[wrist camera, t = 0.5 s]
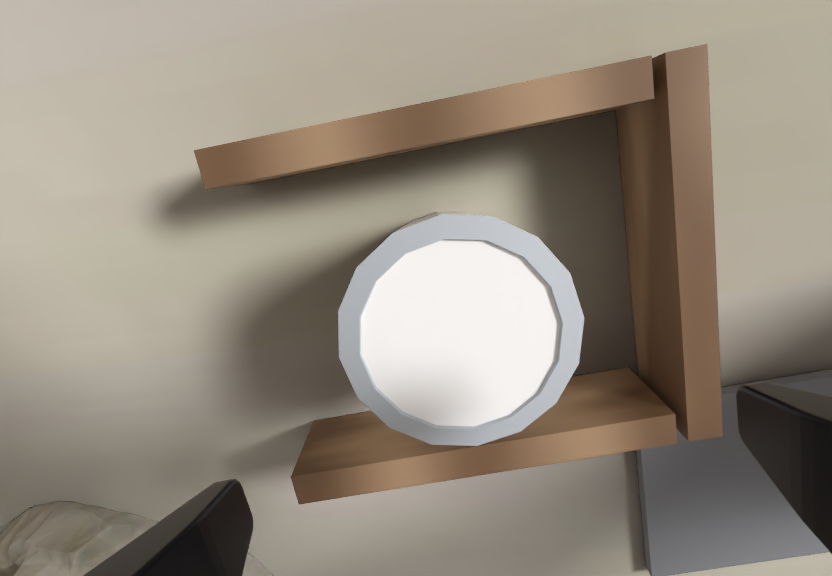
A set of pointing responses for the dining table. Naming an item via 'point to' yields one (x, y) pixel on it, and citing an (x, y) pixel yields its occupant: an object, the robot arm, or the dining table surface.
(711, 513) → the coaster
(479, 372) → the white cup
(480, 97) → the brown wooden u-shaped piece
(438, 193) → the dining table surface
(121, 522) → the ceramic cottage
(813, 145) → the dining table surface
